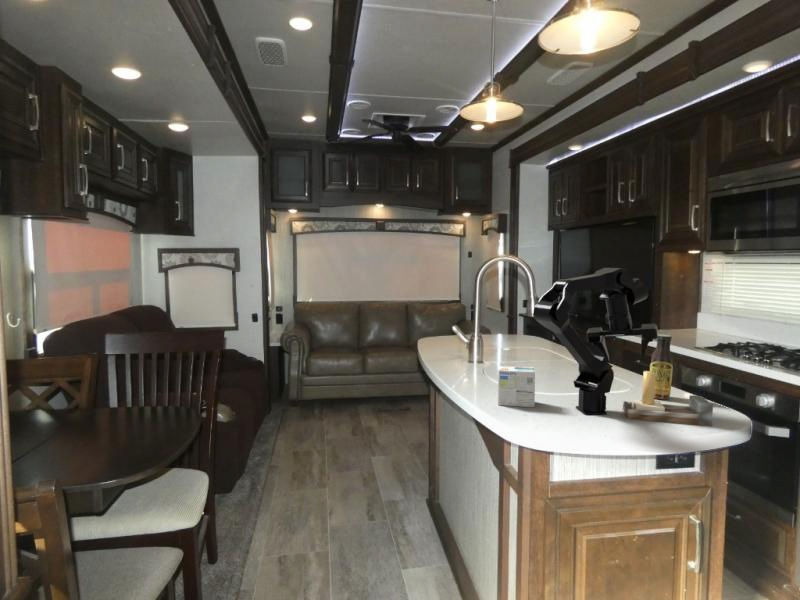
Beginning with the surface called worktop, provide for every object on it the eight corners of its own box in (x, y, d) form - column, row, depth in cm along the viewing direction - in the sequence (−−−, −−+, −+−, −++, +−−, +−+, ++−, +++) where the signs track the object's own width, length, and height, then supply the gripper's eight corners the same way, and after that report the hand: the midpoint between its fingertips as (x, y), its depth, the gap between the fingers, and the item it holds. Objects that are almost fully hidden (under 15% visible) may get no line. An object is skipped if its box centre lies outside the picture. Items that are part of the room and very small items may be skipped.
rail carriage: (636, 411, 133) (637, 373, 132) (631, 405, 139) (633, 369, 138) (664, 414, 131) (666, 375, 130) (659, 407, 137) (660, 370, 136)
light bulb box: (533, 401, 149) (534, 366, 148) (535, 408, 142) (536, 371, 141) (498, 399, 151) (498, 365, 150) (497, 405, 145) (498, 369, 144)
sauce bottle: (647, 398, 152) (650, 335, 150) (648, 393, 157) (650, 332, 156) (671, 401, 149) (674, 337, 147) (671, 396, 154) (674, 334, 153)
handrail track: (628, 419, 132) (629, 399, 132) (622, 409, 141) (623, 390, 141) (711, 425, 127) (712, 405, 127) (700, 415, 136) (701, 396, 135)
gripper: (654, 299, 143) (661, 348, 146) (587, 305, 152) (595, 352, 155) (653, 310, 134) (660, 363, 137) (582, 316, 143) (590, 365, 146)
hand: (625, 360), depth 144 cm, fingers open, 9 cm apart
